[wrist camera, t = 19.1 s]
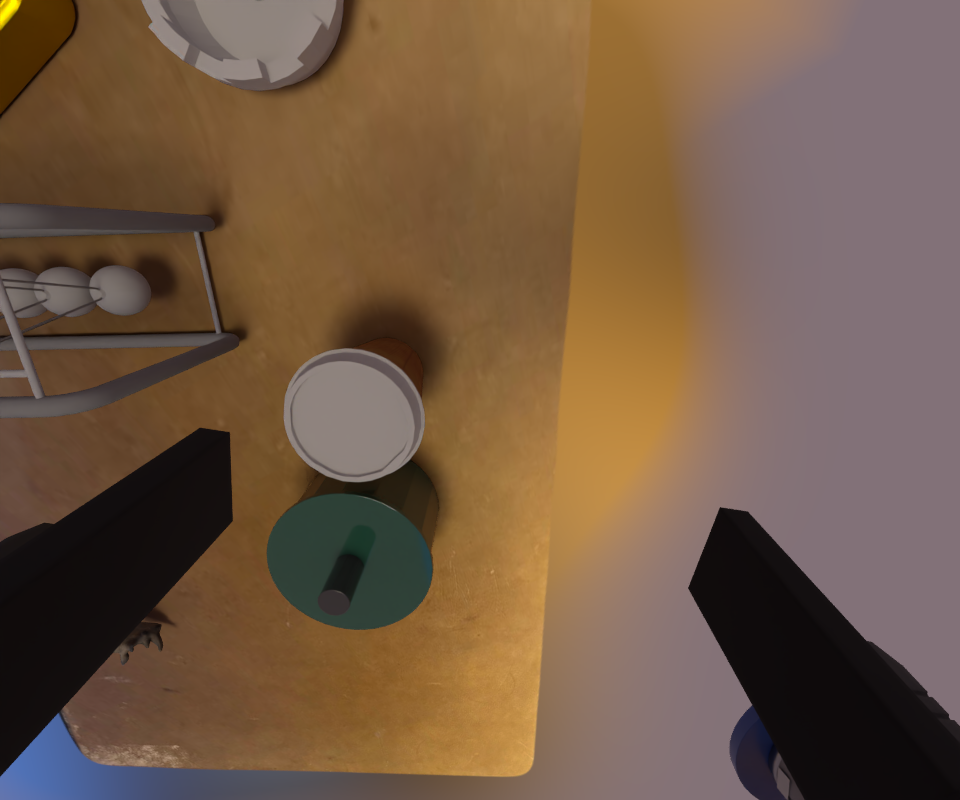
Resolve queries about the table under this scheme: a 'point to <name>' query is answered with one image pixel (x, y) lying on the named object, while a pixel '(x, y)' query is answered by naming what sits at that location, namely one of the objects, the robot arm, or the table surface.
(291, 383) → the disposable coffee cup
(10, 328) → the newton's cradle
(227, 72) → the flag stand
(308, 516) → the pot lid
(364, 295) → the table surface
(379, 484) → the pot
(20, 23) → the element tile
